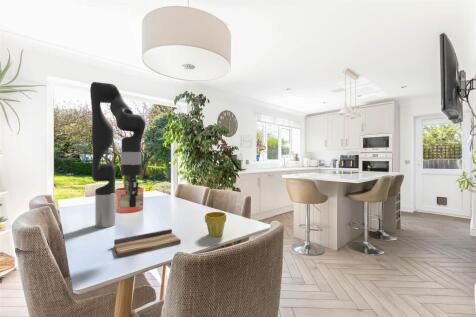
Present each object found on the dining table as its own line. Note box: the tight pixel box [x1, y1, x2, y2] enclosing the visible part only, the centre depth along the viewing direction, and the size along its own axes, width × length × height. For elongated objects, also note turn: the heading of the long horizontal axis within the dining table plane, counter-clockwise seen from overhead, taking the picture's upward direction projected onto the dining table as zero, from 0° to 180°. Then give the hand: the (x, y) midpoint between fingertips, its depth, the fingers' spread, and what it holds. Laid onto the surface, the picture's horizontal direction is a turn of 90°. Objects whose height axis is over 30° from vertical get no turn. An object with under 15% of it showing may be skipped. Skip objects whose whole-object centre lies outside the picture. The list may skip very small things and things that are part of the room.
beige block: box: [118, 192, 144, 210], centre depth 90 cm, size 5×8×5 cm, turn 126°
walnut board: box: [113, 228, 182, 258], centre depth 95 cm, size 12×24×3 cm, turn 126°
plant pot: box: [204, 211, 227, 237], centre depth 109 cm, size 10×10×10 cm
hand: (131, 205), depth 91 cm, fingers closed on beige block, 4 cm apart
